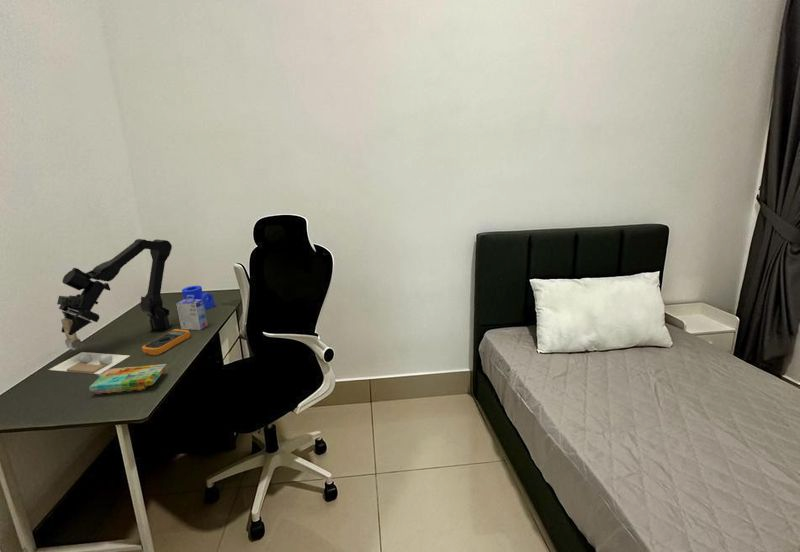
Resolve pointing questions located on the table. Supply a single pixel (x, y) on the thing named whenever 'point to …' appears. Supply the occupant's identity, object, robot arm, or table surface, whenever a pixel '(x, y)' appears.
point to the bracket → (199, 295)
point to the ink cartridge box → (192, 313)
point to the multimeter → (166, 342)
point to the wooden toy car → (71, 340)
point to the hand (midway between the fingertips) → (66, 333)
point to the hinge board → (90, 363)
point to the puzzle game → (127, 379)
